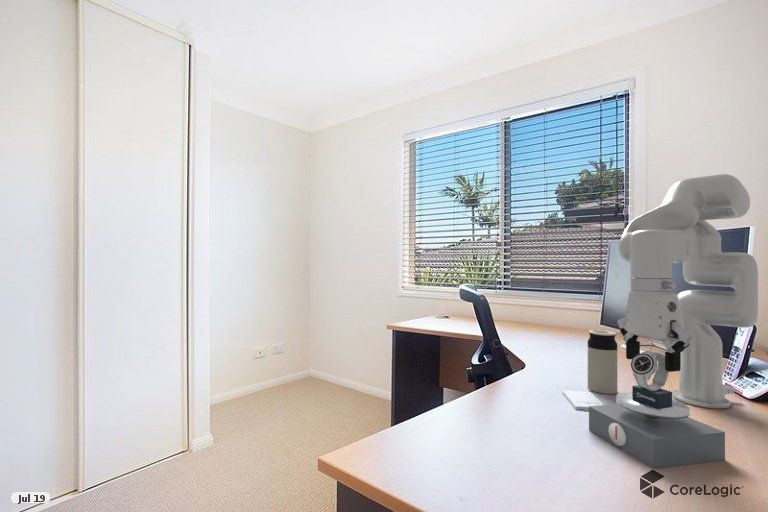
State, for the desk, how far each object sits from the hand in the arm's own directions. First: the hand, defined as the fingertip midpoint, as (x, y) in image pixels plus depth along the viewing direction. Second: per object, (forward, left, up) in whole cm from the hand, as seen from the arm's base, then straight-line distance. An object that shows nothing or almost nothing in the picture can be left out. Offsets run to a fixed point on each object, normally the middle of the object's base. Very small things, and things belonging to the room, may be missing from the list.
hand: (651, 364), depth 83 cm
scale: (0, 0, -17) cm, 17 cm away
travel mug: (-16, -32, -17) cm, 39 cm away
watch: (+1, +1, -8) cm, 8 cm away
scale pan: (0, 0, -11) cm, 11 cm away
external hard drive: (-3, -24, -18) cm, 30 cm away
